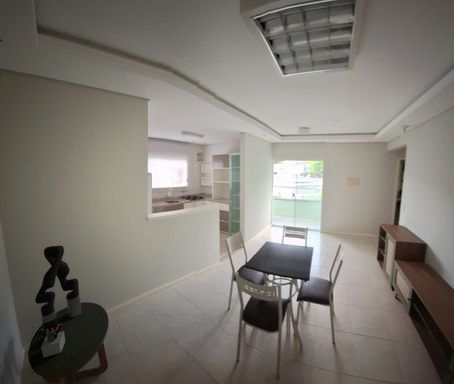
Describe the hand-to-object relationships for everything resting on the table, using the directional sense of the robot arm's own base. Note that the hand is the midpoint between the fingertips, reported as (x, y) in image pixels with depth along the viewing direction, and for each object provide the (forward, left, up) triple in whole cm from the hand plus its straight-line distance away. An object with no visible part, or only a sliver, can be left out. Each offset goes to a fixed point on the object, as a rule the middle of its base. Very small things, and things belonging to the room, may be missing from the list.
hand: (52, 338), depth 151 cm
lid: (0, 0, -2) cm, 2 cm away
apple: (-13, -5, -9) cm, 17 cm away
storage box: (0, 0, -9) cm, 9 cm away
